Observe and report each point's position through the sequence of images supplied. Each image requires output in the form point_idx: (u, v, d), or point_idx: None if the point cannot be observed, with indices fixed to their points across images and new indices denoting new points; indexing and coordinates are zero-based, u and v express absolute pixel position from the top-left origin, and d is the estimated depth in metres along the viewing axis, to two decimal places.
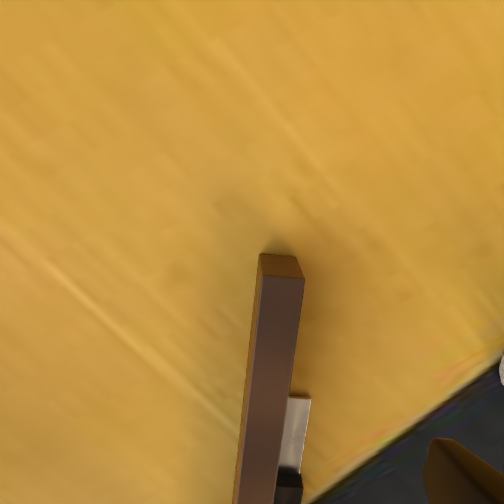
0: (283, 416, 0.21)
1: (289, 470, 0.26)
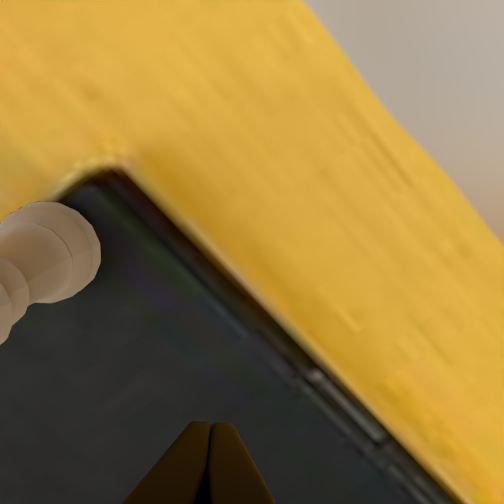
0: None
1: None
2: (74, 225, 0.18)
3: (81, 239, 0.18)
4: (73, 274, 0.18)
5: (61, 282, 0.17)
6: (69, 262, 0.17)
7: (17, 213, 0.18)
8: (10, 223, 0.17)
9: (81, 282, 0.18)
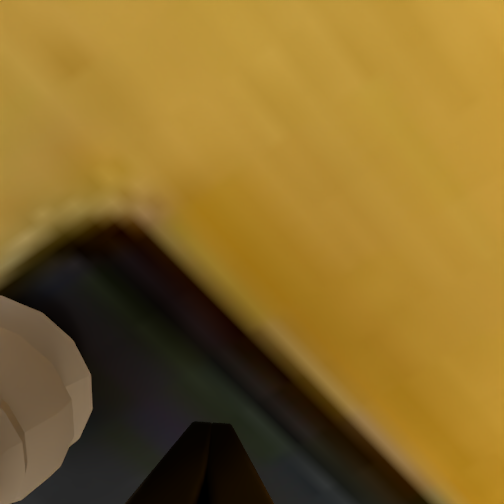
0: None
1: None
2: (31, 355, 0.08)
3: (47, 386, 0.08)
4: (28, 469, 0.08)
5: None
6: (16, 453, 0.07)
7: None
8: None
9: (49, 472, 0.08)
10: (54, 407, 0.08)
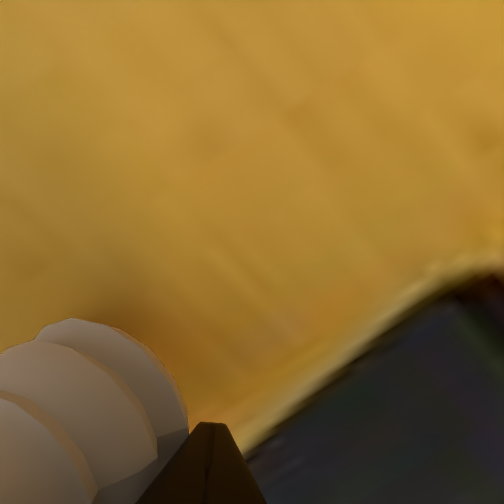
0: None
1: None
2: (116, 399, 0.07)
3: (128, 437, 0.07)
4: None
5: None
6: None
7: (8, 356, 0.08)
8: None
9: None
10: (134, 464, 0.07)
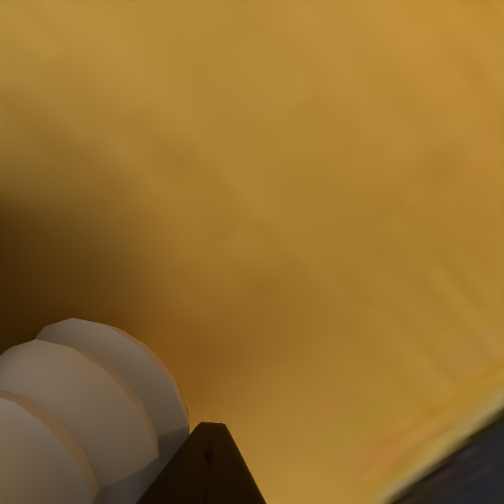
0: None
1: None
2: (117, 398, 0.07)
3: (129, 437, 0.07)
4: None
5: None
6: None
7: (9, 357, 0.08)
8: None
9: None
10: (136, 463, 0.07)
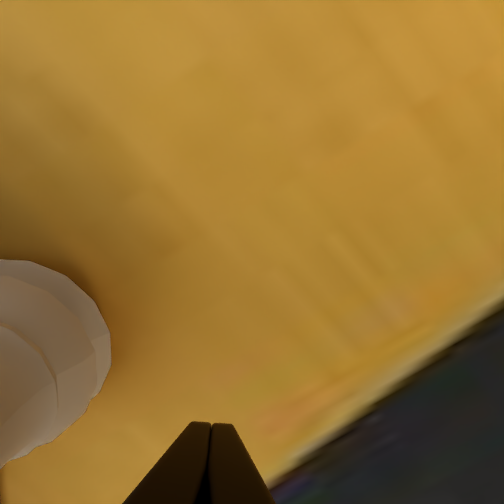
0: None
1: None
2: (59, 309, 0.09)
3: (74, 336, 0.09)
4: (59, 408, 0.09)
5: (33, 433, 0.08)
6: (50, 391, 0.08)
7: None
8: None
9: (76, 415, 0.10)
10: (80, 355, 0.09)
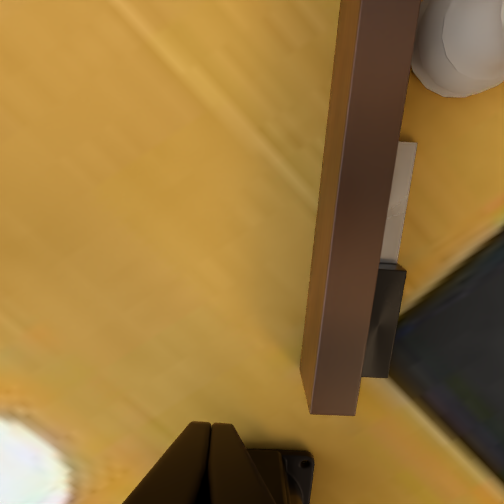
0: (400, 109, 0.15)
1: (384, 255, 0.20)
2: None
3: None
4: None
5: None
6: None
7: None
8: None
9: None
10: None
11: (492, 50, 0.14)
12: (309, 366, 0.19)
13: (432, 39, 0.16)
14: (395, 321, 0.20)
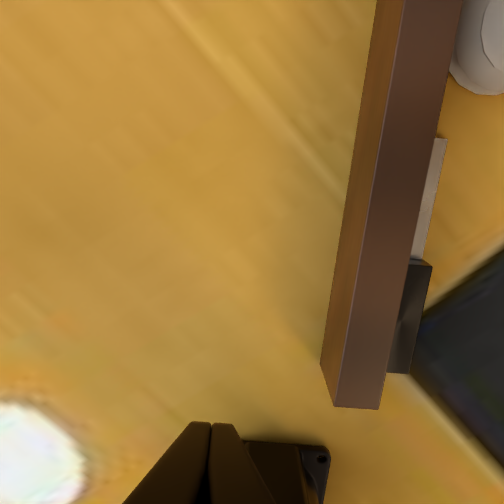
0: (439, 102, 0.15)
1: None
2: None
3: None
4: None
5: None
6: None
7: None
8: None
9: None
10: None
11: None
12: (333, 359, 0.19)
13: (470, 35, 0.16)
14: (419, 316, 0.20)
